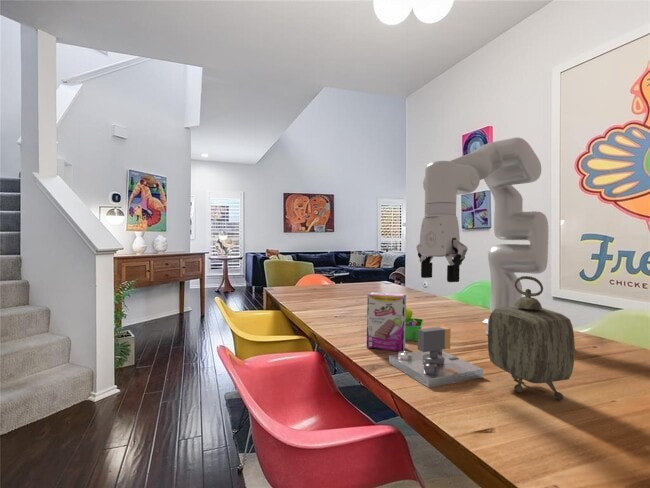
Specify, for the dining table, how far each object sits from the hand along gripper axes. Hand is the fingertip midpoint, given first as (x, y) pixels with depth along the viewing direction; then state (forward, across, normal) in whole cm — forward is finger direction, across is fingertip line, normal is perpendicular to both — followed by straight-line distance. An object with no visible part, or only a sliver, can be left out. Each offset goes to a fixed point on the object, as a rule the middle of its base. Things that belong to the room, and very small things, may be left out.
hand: (439, 279), depth 84 cm
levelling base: (+23, 0, -1) cm, 23 cm away
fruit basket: (+23, -28, +11) cm, 37 cm away
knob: (+20, 0, -1) cm, 21 cm away
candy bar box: (+23, -19, -3) cm, 30 cm away
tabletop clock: (+23, +16, +10) cm, 30 cm away
